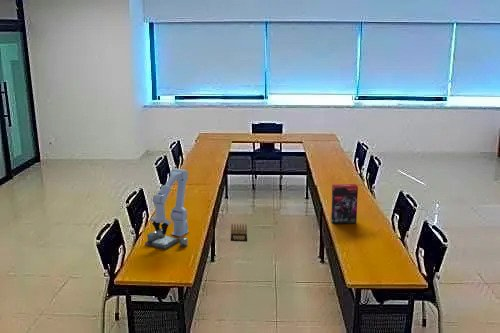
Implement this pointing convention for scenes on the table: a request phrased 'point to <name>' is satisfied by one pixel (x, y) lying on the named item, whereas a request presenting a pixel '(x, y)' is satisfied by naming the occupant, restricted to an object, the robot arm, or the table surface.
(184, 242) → the cylinder
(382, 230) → the table surface
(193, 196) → the table surface
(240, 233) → the ammunition clip
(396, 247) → the table surface
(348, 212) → the graphics card box
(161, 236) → the cylinder
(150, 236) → the dial scale
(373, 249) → the table surface
